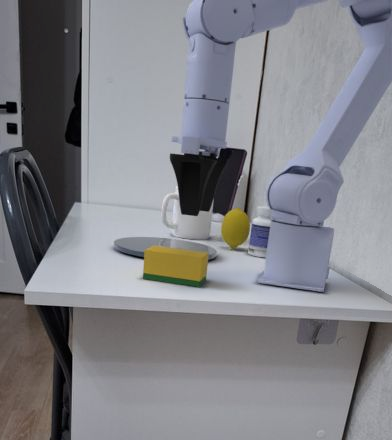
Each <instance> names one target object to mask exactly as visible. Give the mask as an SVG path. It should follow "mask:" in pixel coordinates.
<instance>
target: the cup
mask: <svg viewBox="0 0 392 440" xmlns="http://www.w3.org/2000/svg"><path fill="white" fill-rule="evenodd" d="M174 188H175V189H174V192H170V193H167V194H166V195H165V196H164V197H163V201H162V204H161V209H160V210H161V211H160V215H161V216H160V217H161V222H162V224H163V225H164V226H165V227H166V228H168V229H171V234H172V236H174V237H176V238H180V239H187V240H195V241H196V240H197V241H201V240H203V241H204V240H208V239H209V238H210V235H211V229H212V218H213V212H214V211H213V210H214V200H215V198H214V199H213V203H212V206H211V208H210V211H209V212H206V211H200V212H199V214H198V216H191V215H183V214H181V209H180V202H179V192H178V185H175V186H174ZM170 200H173V211H172V222H170V221H169V220H168V218H167V210H168V205H169V202H170Z"/></svg>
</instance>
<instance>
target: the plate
mask: <svg viewBox="0 0 392 440" xmlns="http://www.w3.org/2000/svg"><path fill="white" fill-rule="evenodd" d="M154 245H155V246H163V247H170V248H177V249H184V250H192V251H199V252H206V253H209V257H208V261H209V260H213V259H215V258H216V257H217V254H218V253H217V249H216V248H214V247H212V246H209V245H207V244H203V243H200V242H194V241H191V240H190V241H189V240H183V239H177V238H168V237H167V238H166V237H156V236H155V237H154V236H130V237H129V236H128V237H121V238H117V239H115V240H113V248H114V249H115V250H117V251H118V252H121V253H125V254H128V255H130V256H136V257H141V258H144V254H145V250H146V249H148V248H150V247H152V246H154Z"/></svg>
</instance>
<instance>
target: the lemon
mask: <svg viewBox="0 0 392 440" xmlns="http://www.w3.org/2000/svg"><path fill="white" fill-rule="evenodd" d="M250 232H251V222H250V218H249V216H248V215H247V213H246V212H245V211H243V210H241V208H240V207H235V208H234V209H232V210H229V211H228V212H227V213H226V214H225V215H224V217H223V219H222V222H221V227H220V235H221V238H222V240H223V241H224V243H225V244H227V245H228V246H229V247H230V250H231V249H232V250H235V249H237V247H239V246H241V245H243V244H244V243H245V242H246V241H247V240H248V239H249V236H250Z"/></svg>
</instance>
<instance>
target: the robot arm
mask: <svg viewBox="0 0 392 440" xmlns="http://www.w3.org/2000/svg"><path fill="white" fill-rule="evenodd" d="M328 1H330V0H192V1H191V3H189V5H188V8H187V10H186V13H185V16H184V17H182V28H183V32H184V34H185V37H186V38H187V41H188V52H187V59H186V70H185V71H186V73H185V83H184V84H185V85H184V95H183V107H182V108H183V109H182V119H181V120H182V122H181V131H180V136H176V135H172V136H171V142H172V143H178V144H180V146H181V148H180V153H181V154H180V153H169V161H170V164H171V166H172V169H173V172H174V175H175V179H176V183H177V184H176V186H178V192H179V202H180V209H181V214H183V215H191V216H198V214H199V212H200V211H206V212H209V211H210V208H211V206H212V203H213V204H214V201H213V199H214V200H215V195H216V192H217V189H218V185H219V182H220V180H221V178H222V175H224V172H225V171H226V169H227V167H228V166H229V163H230V159H228V158H220V150H221V149H227V144H228V141H226V139H227V131H228V130H227V129H228V119H229V111H230V101H231V93H232V85H233V77H234V76H233V74H234V66H235V54H236V46H237V42H238V41H239V40H240V39H245V38H248V37H251V36H255V35H258V34H262V33H264V32H267V31H270V30H274V29H277V28H280V27H284V26H286V25H288V23H290V22H291V20H292V19H293V16H294V14H295V13H296V10H298V9H302V8H306V7H309V6H313V5H318V4H320V3H324V2H325V3H326V2H328ZM338 2H339V5H340V7H341V8H346V7H347V9H348V12H349V15H350V17H351V20H352V22H353V24H354V28H355V29H356V32H357V35H358V36H359V40H360V42H361V43H362V44H363V46H364V50H363V52H362V54H361V55H360V57H359V59H358V60H357V62H356V64H355V65H354V67H353V68H352V71H351V72H350V74H349V75H348V77H347V79H346V81H345V82H344V84H343V86H342V87H341V88H340V91H339V92H338V93H337V96H336V97H335V99H334V101H333V102H332V103H331V105H330V107H329V109H328V111H327V112H326V114H325V116H324V117H323V119H322V120H321V122H320V124H319V126H318V127H317V129H316V130H315V133H314V134H313V136H312V137H311V139H310V141H309V142H308V144H307V145H306V147H305V149H303V150H302V151H301V152H299V153H298V154H297V155H296V156H294V157H292V158H291V159H290V160H289V161H288V162H287V163H286V165H285V167H284V168H283V169H282V170H281V171H280V172H278V174H276V175H274V176H273V177H272V178H271V179H270V181H269V182H268V184H267V187H266V190H265V201H266V205H267V207H269V208H270V210H271V219H272V220H271V225H270V232H269V239H268V246H267V253H266V258H265V261H264V266H263V267H264V268H263V270H262V272H261V274H260V276H259V278H258V279H257V283H258V284H264V285H271V286H279V287H286V288H291V289H299V290H306V291H313V292H320V293H324V291H325V286H326V281H327V280H328V279H329V274H330V266H329V265H330V259H331V253H332V248H333V242H334V235H335V228H334V227H330V226H324V223H325V221H326V220H327V219H328V218H329V217H330V216H331V215H332V213H333V211H334V210H335V208H336V204H337V199H338V194H339V192H340V189H341V188H342V186H343V185H344V182H345V181H344V176H343V174H342V171H341V169H340V167H341V165H342V164H343V162H344V161H345V159H346V157H347V155H348V154H349V152H350V151H351V149H352V147H353V146H354V144H355V143H356V141H357V139H358V137H359V136H360V134H361V133H362V131H363V129H364V128H365V126H366V125H367V123H368V121H369V119H370V117H372V114H373V113H374V111H375V110H376V108H377V106H378V104H380V101H381V99H382V98H383V97H384V95H385V93H386V91H387V90H388V88H389V87H390V85H391V83H392V0H338Z"/></svg>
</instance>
